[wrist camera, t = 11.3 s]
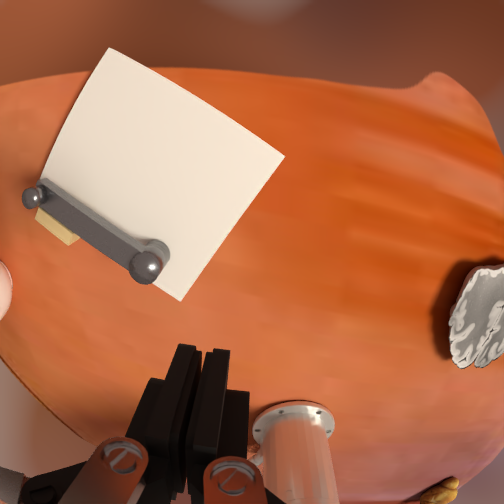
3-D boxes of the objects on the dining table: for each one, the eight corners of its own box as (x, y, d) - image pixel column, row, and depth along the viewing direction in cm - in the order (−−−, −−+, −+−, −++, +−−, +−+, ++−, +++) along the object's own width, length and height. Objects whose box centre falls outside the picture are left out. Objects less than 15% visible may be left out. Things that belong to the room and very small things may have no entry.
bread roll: (451, 472, 54) (460, 494, 46) (461, 476, 56) (470, 496, 48) (411, 496, 57) (418, 518, 49) (424, 500, 59) (431, 520, 52)
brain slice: (416, 355, 39) (423, 367, 37) (464, 244, 34) (477, 252, 31) (496, 359, 40) (504, 368, 38) (538, 270, 35) (549, 277, 32)
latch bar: (175, 250, 32) (159, 273, 27) (162, 271, 33) (144, 297, 28) (59, 172, 29) (26, 180, 24) (50, 195, 30) (18, 206, 25)
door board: (183, 295, 36) (171, 323, 30) (40, 193, 32) (10, 204, 26) (283, 155, 31) (289, 158, 25) (114, 50, 27) (89, 36, 21)
